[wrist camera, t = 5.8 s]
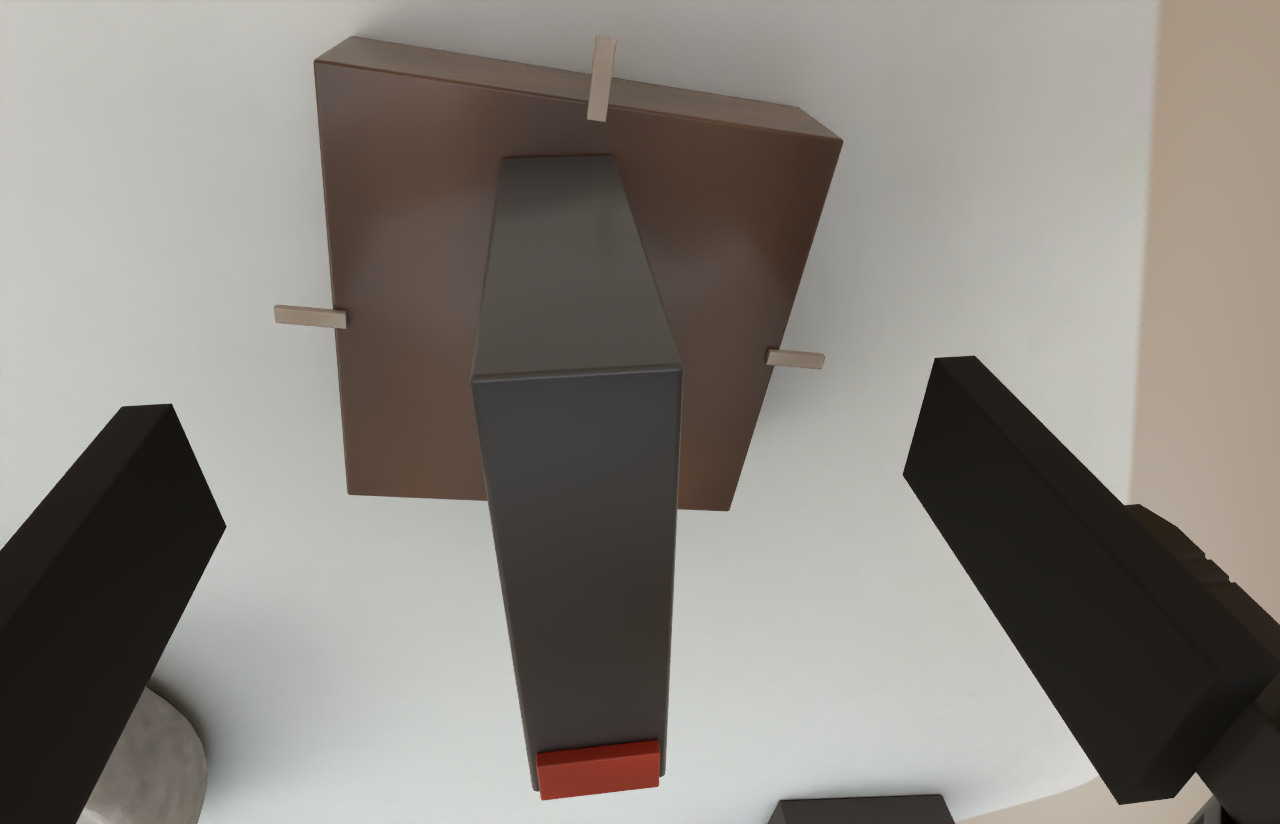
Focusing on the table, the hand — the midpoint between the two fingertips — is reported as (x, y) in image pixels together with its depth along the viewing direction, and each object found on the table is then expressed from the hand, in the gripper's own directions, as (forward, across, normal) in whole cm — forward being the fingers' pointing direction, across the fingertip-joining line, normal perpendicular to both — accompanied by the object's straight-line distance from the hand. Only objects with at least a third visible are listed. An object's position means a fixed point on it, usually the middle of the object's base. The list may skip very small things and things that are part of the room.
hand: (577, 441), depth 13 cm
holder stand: (+7, 0, 0) cm, 7 cm away
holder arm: (+4, 0, 0) cm, 4 cm away
